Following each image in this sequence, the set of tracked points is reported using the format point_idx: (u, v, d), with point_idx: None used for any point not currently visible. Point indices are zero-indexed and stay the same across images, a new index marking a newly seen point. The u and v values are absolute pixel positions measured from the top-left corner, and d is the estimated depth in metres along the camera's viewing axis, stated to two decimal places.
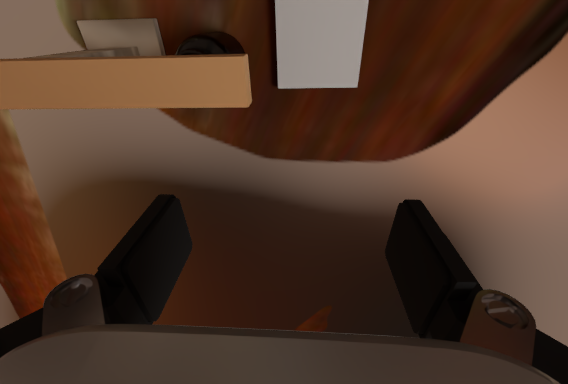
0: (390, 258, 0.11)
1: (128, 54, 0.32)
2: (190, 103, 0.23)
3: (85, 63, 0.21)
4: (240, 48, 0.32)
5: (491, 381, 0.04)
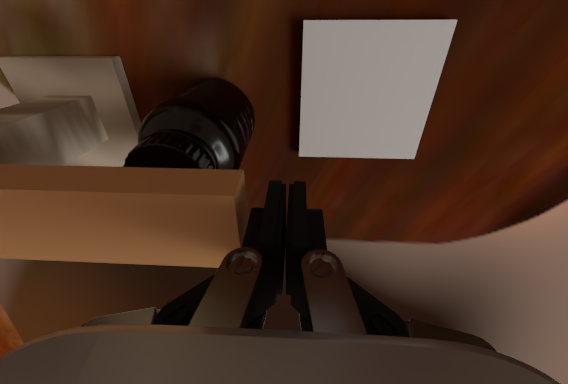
0: None
1: (73, 112, 0.21)
2: (130, 258, 0.12)
3: None
4: (246, 105, 0.21)
5: (491, 381, 0.04)
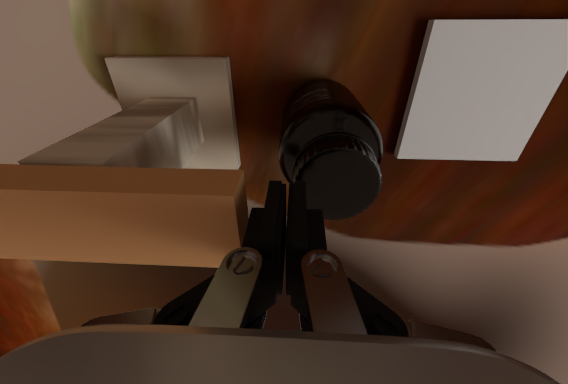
0: None
1: (186, 114, 0.20)
2: (130, 258, 0.12)
3: None
4: None
5: (491, 381, 0.04)
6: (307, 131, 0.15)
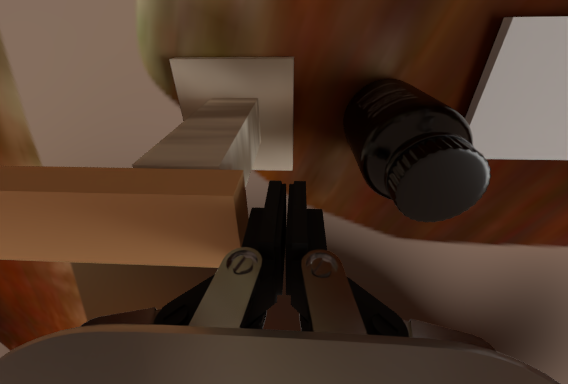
0: None
1: (254, 115, 0.20)
2: (131, 258, 0.12)
3: None
4: None
5: (491, 381, 0.04)
6: (402, 131, 0.14)
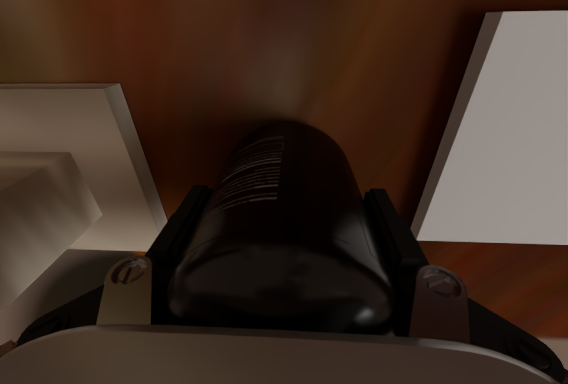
0: None
1: (33, 191, 0.11)
2: None
3: None
4: (353, 174, 0.11)
5: (491, 381, 0.04)
6: (201, 314, 0.05)
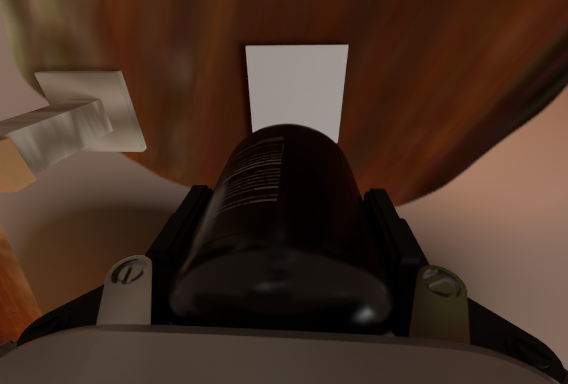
0: None
1: (89, 110, 0.29)
2: None
3: None
4: None
5: (491, 381, 0.04)
6: (202, 315, 0.05)
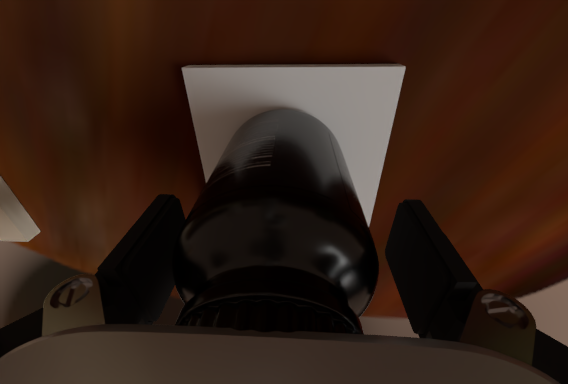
0: (390, 258, 0.11)
1: None
2: None
3: None
4: None
5: (491, 381, 0.04)
6: (206, 255, 0.07)
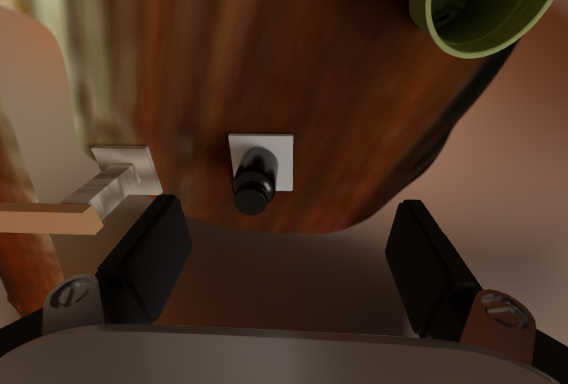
0: (390, 258, 0.11)
1: (127, 173, 0.45)
2: (59, 231, 0.37)
3: None
4: (275, 161, 0.43)
5: (491, 381, 0.04)
6: (240, 180, 0.37)
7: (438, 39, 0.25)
